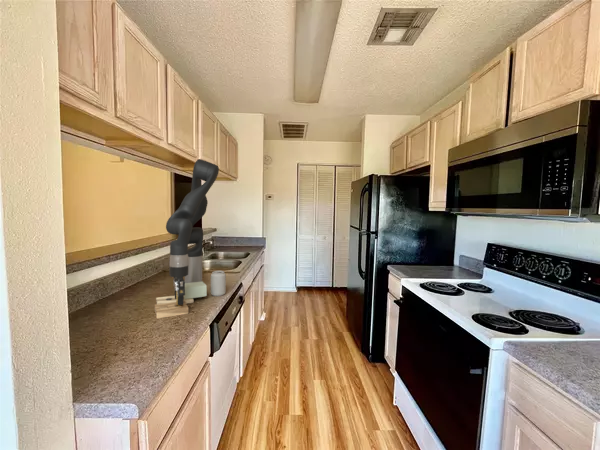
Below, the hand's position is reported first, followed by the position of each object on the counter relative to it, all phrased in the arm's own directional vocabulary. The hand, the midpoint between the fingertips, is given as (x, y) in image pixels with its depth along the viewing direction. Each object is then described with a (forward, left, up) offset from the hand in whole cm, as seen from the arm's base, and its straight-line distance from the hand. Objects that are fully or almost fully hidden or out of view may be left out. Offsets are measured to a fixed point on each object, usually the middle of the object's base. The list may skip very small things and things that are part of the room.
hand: (179, 301), depth 121 cm
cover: (-13, +9, -2) cm, 16 cm away
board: (-13, 0, -4) cm, 14 cm away
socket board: (0, -3, -4) cm, 5 cm away
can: (-15, +21, -4) cm, 26 cm away
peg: (0, 0, -4) cm, 4 cm away
